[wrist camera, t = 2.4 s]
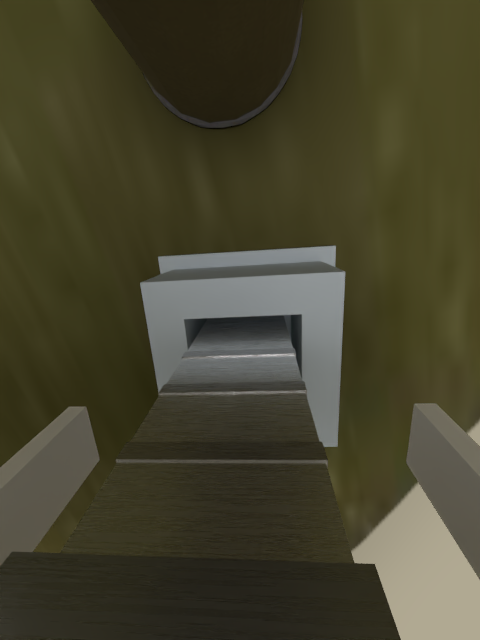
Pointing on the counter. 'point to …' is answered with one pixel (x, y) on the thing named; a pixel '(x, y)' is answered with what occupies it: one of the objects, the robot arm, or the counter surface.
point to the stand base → (255, 312)
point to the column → (209, 518)
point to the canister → (210, 52)
